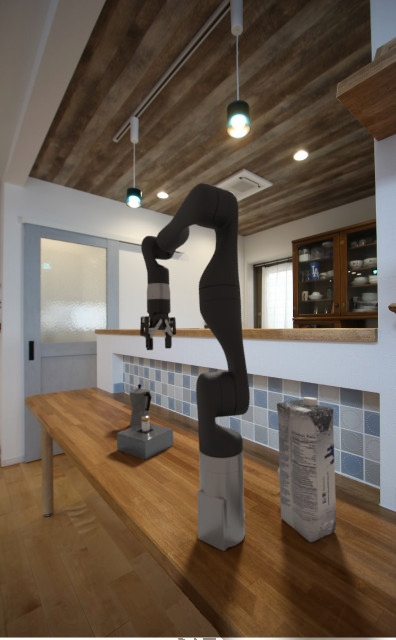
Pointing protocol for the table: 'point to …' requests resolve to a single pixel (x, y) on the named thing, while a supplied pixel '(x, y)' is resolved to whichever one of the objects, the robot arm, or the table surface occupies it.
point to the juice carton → (307, 467)
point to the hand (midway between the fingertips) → (159, 349)
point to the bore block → (144, 440)
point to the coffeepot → (139, 405)
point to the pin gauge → (145, 424)
